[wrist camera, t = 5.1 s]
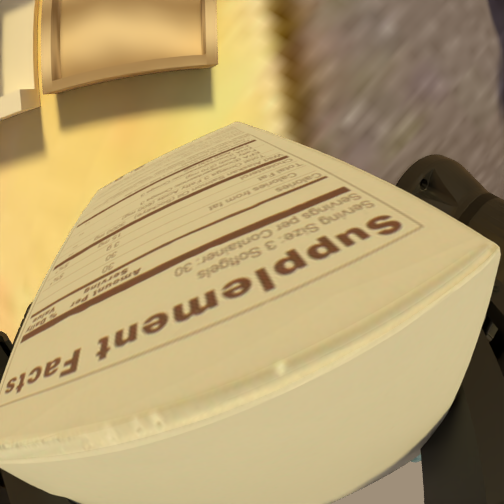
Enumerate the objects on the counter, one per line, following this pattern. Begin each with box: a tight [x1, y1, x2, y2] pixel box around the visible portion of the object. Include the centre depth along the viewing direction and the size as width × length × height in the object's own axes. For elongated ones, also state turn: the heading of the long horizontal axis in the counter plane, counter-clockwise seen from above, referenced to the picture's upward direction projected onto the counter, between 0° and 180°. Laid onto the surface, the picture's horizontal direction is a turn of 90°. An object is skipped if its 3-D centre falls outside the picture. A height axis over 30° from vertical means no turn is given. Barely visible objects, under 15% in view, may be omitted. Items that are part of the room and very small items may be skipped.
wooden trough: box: [41, 0, 218, 94], centre depth 15 cm, size 13×13×3 cm
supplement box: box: [0, 122, 501, 504], centre depth 9 cm, size 7×7×13 cm
